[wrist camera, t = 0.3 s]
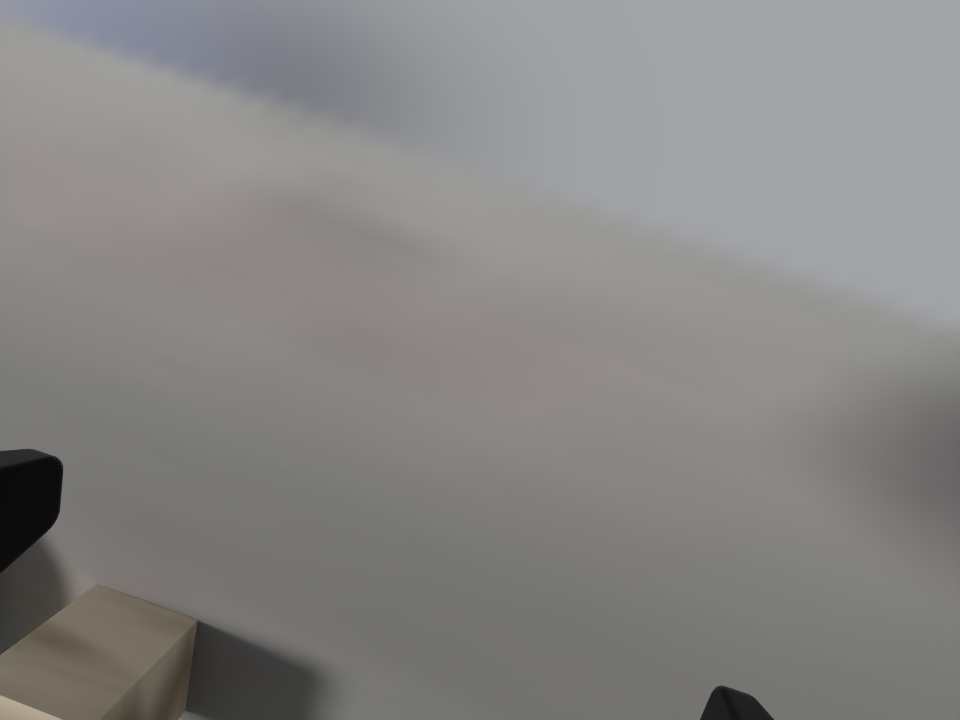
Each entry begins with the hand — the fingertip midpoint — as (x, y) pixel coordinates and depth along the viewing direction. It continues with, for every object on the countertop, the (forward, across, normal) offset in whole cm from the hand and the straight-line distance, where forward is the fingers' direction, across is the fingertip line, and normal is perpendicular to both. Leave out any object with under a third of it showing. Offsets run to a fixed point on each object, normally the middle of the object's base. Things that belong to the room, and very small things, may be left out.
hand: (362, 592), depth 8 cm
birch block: (+14, +13, +18) cm, 26 cm away
